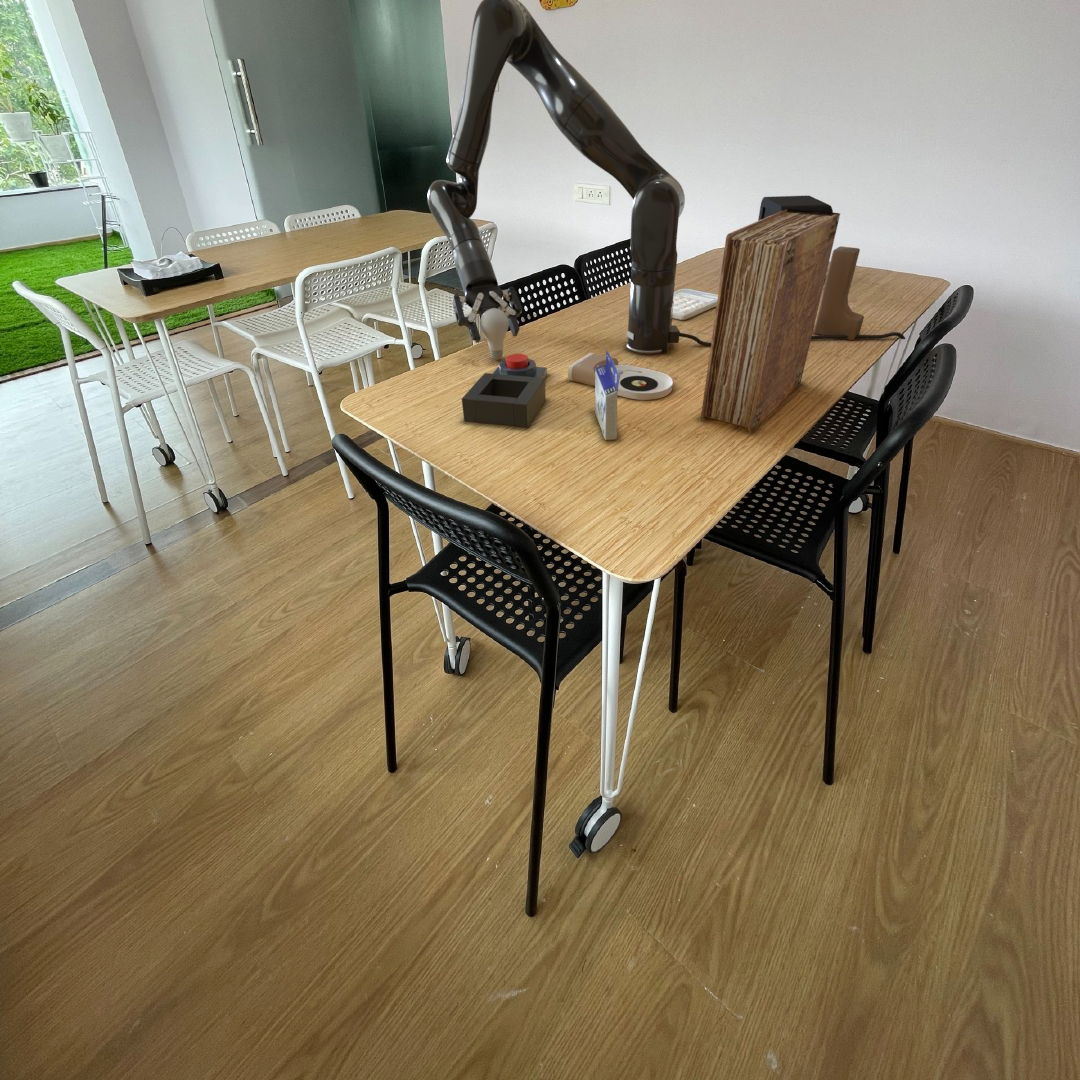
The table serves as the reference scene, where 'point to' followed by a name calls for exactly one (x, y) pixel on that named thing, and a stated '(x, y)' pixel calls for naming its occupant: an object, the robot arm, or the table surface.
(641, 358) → the table surface
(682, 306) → the calculator
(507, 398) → the socket
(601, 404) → the ink box
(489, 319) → the lightbulb
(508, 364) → the button
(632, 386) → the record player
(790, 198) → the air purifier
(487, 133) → the robot arm
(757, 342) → the book
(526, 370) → the switch
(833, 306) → the wooden block
